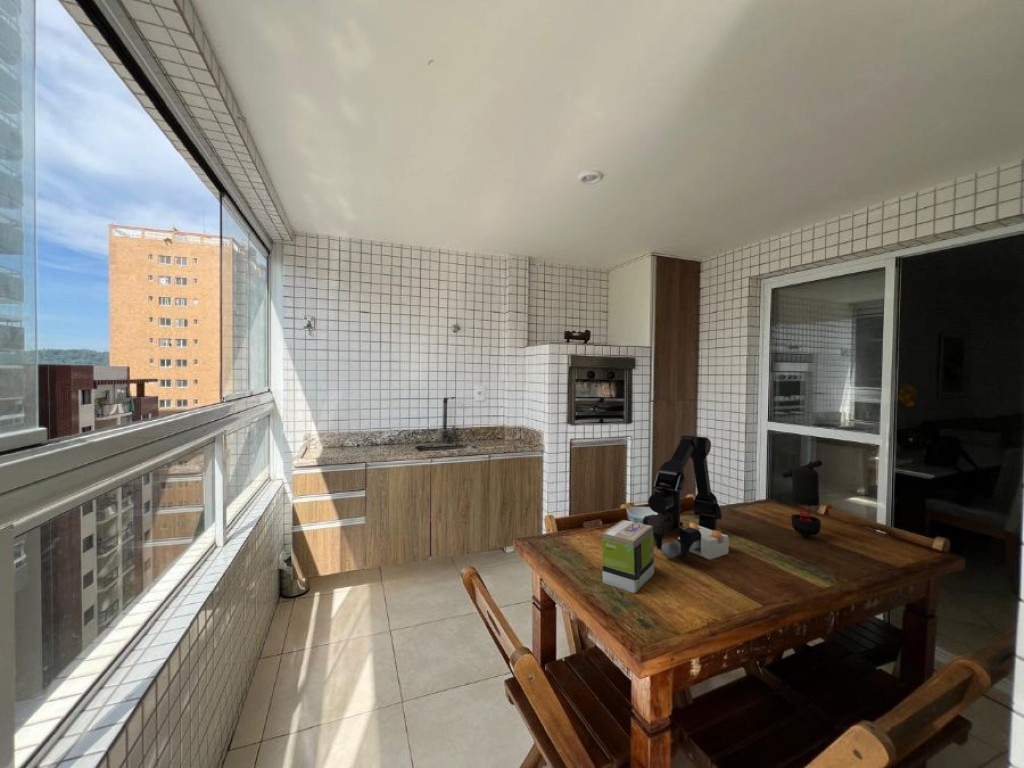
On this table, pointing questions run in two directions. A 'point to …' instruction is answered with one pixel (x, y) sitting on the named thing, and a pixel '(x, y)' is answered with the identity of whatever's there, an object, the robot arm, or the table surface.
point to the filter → (805, 497)
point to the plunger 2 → (716, 534)
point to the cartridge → (677, 548)
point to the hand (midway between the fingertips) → (670, 553)
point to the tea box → (627, 555)
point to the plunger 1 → (693, 525)
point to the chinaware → (639, 514)
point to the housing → (711, 544)
